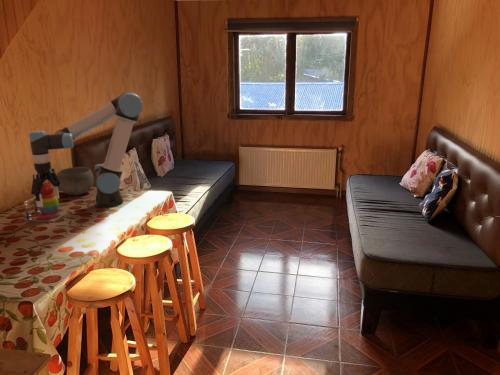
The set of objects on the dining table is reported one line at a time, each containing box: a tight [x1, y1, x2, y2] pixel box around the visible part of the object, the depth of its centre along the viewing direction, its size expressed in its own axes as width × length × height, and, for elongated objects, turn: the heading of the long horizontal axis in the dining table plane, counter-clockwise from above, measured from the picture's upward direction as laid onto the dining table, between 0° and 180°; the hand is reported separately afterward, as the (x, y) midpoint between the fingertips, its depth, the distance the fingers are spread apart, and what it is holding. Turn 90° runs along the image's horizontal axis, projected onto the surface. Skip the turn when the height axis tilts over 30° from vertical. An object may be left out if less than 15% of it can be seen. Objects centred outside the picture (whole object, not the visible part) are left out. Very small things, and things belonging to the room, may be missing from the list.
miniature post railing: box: [23, 196, 41, 222], centre depth 221 cm, size 8×16×9 cm, turn 170°
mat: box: [31, 212, 68, 223], centre depth 220 cm, size 12×12×1 cm
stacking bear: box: [35, 181, 61, 220], centre depth 217 cm, size 11×10×18 cm
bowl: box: [56, 166, 94, 196], centre depth 260 cm, size 21×21×15 cm
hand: (48, 202), depth 218 cm, fingers open, 13 cm apart
